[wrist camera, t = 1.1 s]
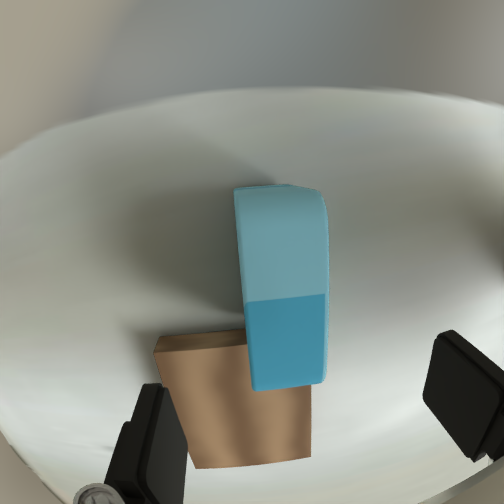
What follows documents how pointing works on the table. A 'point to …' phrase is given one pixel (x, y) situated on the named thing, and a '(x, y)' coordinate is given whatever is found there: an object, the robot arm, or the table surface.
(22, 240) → the table surface
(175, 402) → the base plate
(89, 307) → the table surface
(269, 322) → the data package
